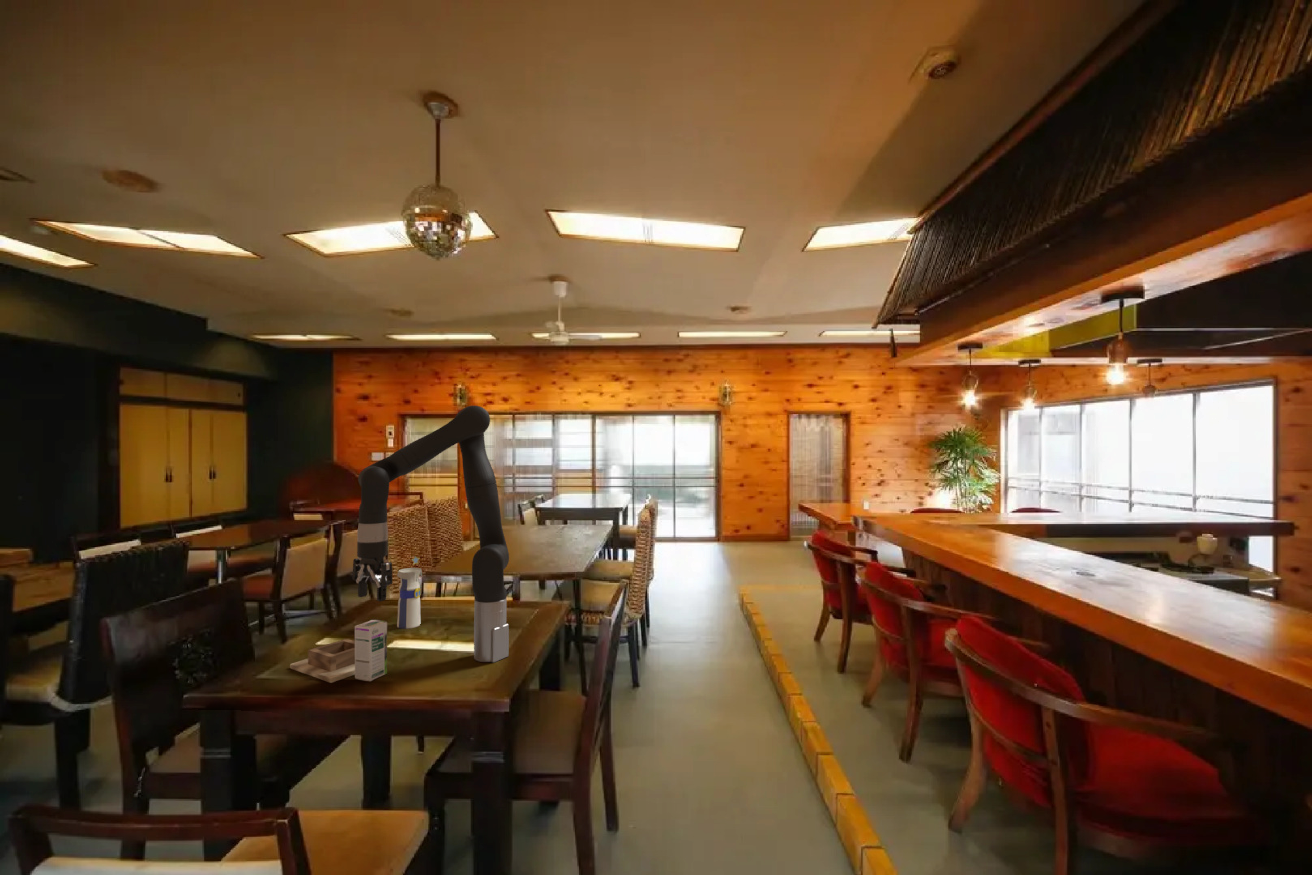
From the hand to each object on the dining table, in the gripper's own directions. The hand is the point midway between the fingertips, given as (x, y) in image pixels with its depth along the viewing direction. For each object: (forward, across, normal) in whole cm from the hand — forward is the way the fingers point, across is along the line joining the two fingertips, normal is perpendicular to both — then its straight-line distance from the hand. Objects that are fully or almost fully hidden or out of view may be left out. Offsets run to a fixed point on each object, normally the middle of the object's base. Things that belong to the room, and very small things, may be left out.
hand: (371, 598), depth 156 cm
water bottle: (+21, +31, -35) cm, 51 cm away
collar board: (+21, +15, 0) cm, 26 cm away
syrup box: (+21, 0, 0) cm, 21 cm away
